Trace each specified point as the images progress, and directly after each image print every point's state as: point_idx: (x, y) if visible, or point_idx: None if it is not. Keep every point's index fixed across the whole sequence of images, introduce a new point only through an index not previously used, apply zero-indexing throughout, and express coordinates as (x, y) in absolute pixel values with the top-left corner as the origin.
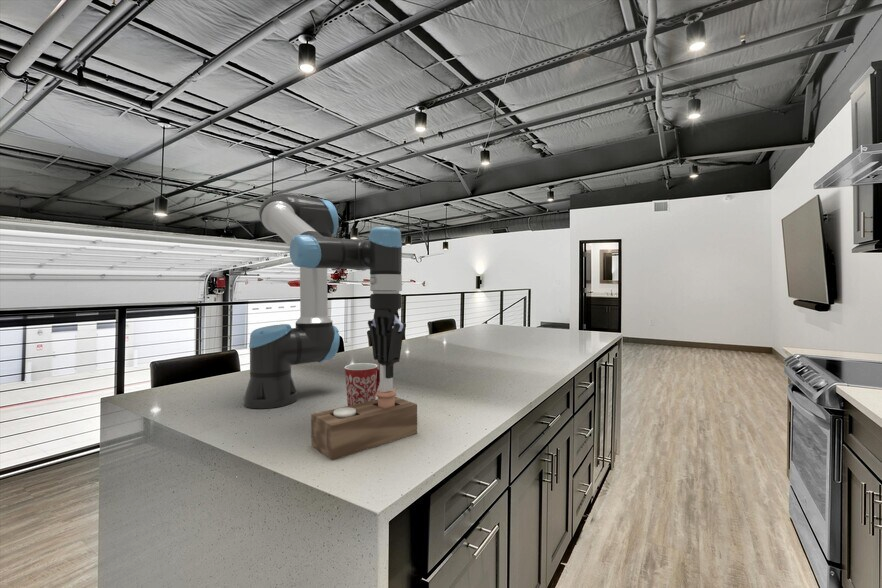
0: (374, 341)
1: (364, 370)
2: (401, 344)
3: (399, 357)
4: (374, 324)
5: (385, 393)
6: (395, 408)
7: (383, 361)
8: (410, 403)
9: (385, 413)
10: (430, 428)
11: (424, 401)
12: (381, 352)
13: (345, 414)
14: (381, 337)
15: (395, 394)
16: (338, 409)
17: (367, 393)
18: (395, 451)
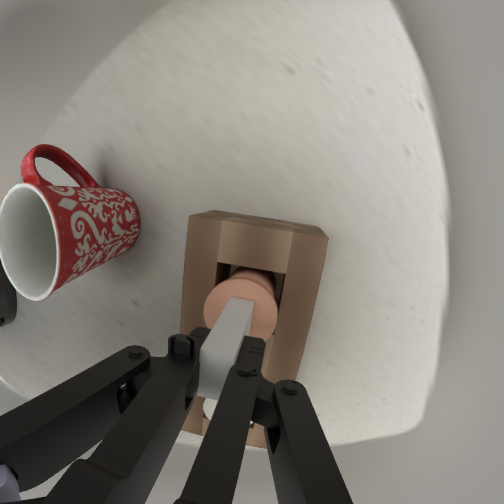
0: (90, 447)
1: (60, 273)
2: (338, 470)
3: (309, 402)
4: (11, 496)
5: (255, 333)
6: (301, 312)
7: (195, 386)
8: (304, 245)
9: (302, 350)
10: (321, 178)
11: (160, 44)
12: (178, 429)
13: (251, 423)
14: (142, 497)
15: (274, 301)
16: (209, 412)
17: (106, 241)
18: (345, 330)
